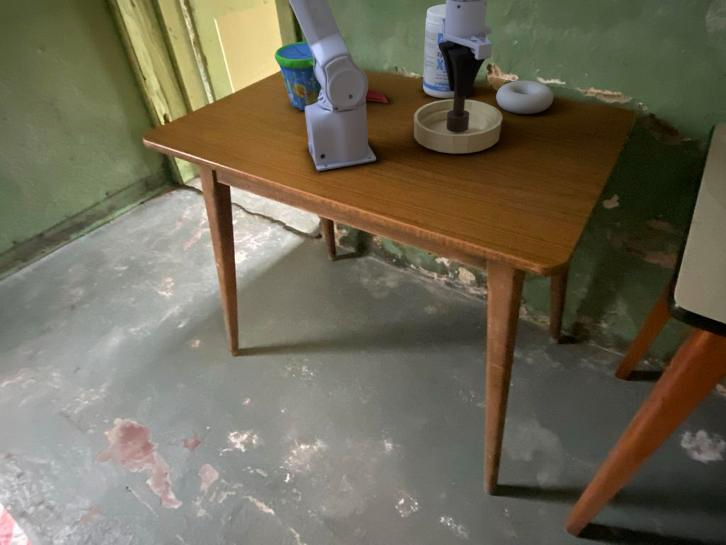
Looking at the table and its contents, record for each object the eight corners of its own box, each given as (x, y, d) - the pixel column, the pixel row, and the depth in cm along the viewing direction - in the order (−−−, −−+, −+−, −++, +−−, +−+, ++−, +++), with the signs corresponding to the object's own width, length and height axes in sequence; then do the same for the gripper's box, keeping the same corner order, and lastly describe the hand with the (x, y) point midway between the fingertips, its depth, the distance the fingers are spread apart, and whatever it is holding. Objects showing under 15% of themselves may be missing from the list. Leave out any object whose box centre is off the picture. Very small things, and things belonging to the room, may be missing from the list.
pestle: (451, 134, 80) (455, 68, 73) (443, 125, 83) (446, 61, 76) (471, 130, 80) (477, 65, 74) (463, 121, 83) (468, 58, 76)
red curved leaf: (331, 95, 99) (330, 86, 98) (346, 88, 101) (345, 79, 100) (377, 108, 93) (377, 98, 91) (392, 100, 95) (392, 90, 94)
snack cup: (352, 111, 92) (347, 55, 86) (300, 124, 89) (291, 67, 83) (319, 86, 103) (314, 34, 97) (272, 97, 100) (263, 44, 93)
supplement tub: (437, 104, 93) (441, 19, 83) (414, 87, 100) (415, 7, 90) (481, 94, 95) (490, 10, 86) (456, 78, 102) (461, 0, 92)
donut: (495, 117, 87) (554, 118, 85) (497, 98, 85) (557, 98, 83) (495, 95, 95) (549, 95, 93) (496, 77, 92) (552, 77, 90)
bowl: (431, 162, 76) (431, 141, 74) (402, 125, 87) (402, 106, 84) (515, 147, 78) (518, 126, 76) (477, 113, 89) (479, 94, 86)
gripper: (517, 4, 64) (504, 106, 73) (472, -17, 75) (465, 74, 84) (467, 11, 63) (459, 113, 72) (428, -11, 74) (425, 80, 82)
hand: (459, 92), depth 78 cm, fingers closed on pestle, 2 cm apart
